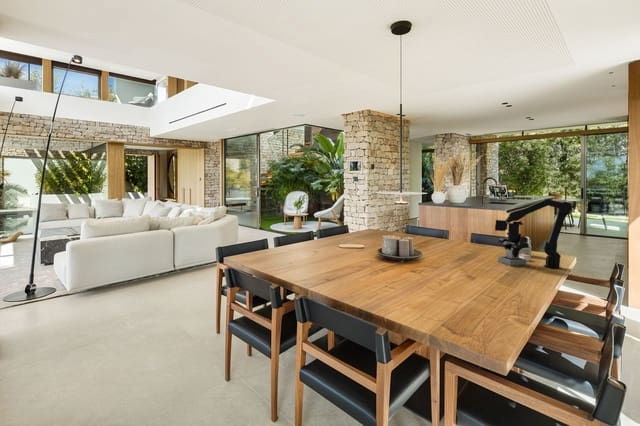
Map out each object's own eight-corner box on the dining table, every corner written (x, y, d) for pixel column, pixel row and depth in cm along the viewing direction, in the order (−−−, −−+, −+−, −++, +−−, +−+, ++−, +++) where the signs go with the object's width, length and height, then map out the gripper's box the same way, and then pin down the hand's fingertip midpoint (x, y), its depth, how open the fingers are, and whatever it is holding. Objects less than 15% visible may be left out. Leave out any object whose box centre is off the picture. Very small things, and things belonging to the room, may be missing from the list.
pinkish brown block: (530, 261, 209) (530, 255, 209) (523, 261, 208) (524, 256, 208) (522, 258, 215) (523, 253, 214) (516, 259, 214) (517, 254, 214)
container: (518, 256, 221) (519, 237, 220) (514, 253, 228) (515, 235, 227) (531, 257, 219) (532, 237, 217) (527, 254, 226) (528, 235, 225)
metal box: (518, 259, 200) (519, 250, 199) (511, 260, 199) (511, 250, 199) (512, 257, 205) (513, 248, 204) (505, 258, 204) (506, 248, 204)
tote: (526, 265, 198) (526, 259, 198) (510, 266, 196) (510, 260, 196) (513, 261, 208) (513, 255, 208) (498, 261, 207) (498, 256, 207)
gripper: (537, 233, 192) (536, 259, 194) (514, 228, 211) (513, 252, 212) (520, 234, 191) (519, 260, 192) (498, 229, 209) (497, 253, 211)
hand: (512, 256), depth 202 cm, fingers closed on metal box, 5 cm apart
